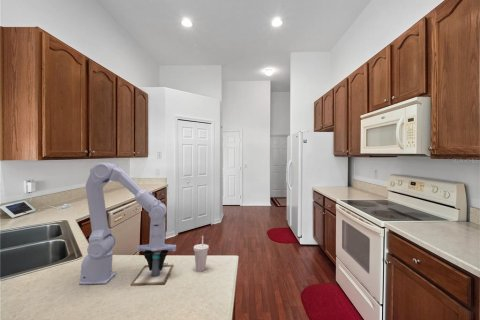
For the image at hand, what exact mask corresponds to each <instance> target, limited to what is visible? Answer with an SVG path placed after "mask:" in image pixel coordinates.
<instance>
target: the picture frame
mask: <svg viewBox="0 0 480 320" xmlns="http://www.w3.org/2000/svg"><path fill="white" fill-rule="evenodd" d="M173 267H174V264H168V262H164V264H163V268H162V270H161V271H160V275H159V276H157V277H152V276H151V274H152V270H151V271H149V266H148V264H145V265H144V266H143V267H142V269H141V270H140V272H139V273H138V274H137V275H136V276H135V278H134V279H133V281H132V282H131V283H130V286H131V287H132V286H133V287H134V286H164V285H166V283H167V282H168V281H167V280H168V279H169V276H170V274H171V272H172V270H173Z"/></svg>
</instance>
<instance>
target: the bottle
mask: <svg viewBox="0 0 480 320" xmlns="http://www.w3.org/2000/svg"><path fill="white" fill-rule="evenodd" d="M159 267H160V252H154V253H153V254H152V274H151V276H152V277H157V276H159V275H160V270H159Z"/></svg>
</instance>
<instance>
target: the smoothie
mask: <svg viewBox="0 0 480 320" xmlns="http://www.w3.org/2000/svg"><path fill="white" fill-rule="evenodd" d="M208 250H210V248H209V244H206V243H204V235H202V236H201V243H200V244H195V245H194V246H193V252H194V262H195V270H196V272H197V273H198V272H200V273H201V272H204V271H206V270H205V269H206V265H207V257H208V252H209V251H208Z"/></svg>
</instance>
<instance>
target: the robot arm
mask: <svg viewBox="0 0 480 320" xmlns="http://www.w3.org/2000/svg"><path fill="white" fill-rule="evenodd" d="M110 181H112V182H117V183H119V184H121V185H122V186H123V187H124V188H126V189H127V190H128V191H129V192H131V194H133V196H134V197H135V199H134V201H135V202H136V203H137V204H138V205H140V207H142V208H143V209H144V210H145V211H146V212H148V217H149V218H150V224H149V243H148V244H139V245H137V246H136V252H138V253H140V252H144V253H143V254H144V255H143V257H144V258H145V260H146V263H147V265H148V266H149V271H151V270H152V254H153V253H155V252H159V253H160V267H159V270H160V271H161V270H162V268H163V264H164V263H165V259H166V257H167V255H168V253H169V252H170V251H171V252H176V250H177V244H168V243H166V242H165V241H166V214H167V211H168V208H167V206H166V204H165V203H164V202H161V200H160V199H159V200H158V199H157V198H156V197H155V195H153V192H152V190H148V189H142V188H141V187H140V186H139V185H138V184H137V183H136V182H135V181H134V179H132V178H131V176H130V175H128V173H127V172H126V171H125V170H124V169H122V168H121V167H120V166H119V165H118V164H117V163H114V162H104V161H103V162H98V163H96V164H94V165H93V166H92V167H91V168H90V169H89V176H88V177H87V180H86V182H85V192H86V198H87V199H86V201H87V205H88V206H87V207H88V212H89V221H90V228H91V233H90V235H89V238H88V245H87V249H86V251H87V255H85V256H84V257H83V260H82V262H81V266H80V281H79V282H78V284H79V285H98V284H99V285H100V284H101V285H102V284H108V283H109V282H110V280H111V279H113V277H115V275H117V272H116V271H115V272H113V253H114V251H113V248H114V246H115V245H116V237H115V236H114V235H113V232H112V229H111V228H109V222H108V215H107V207H106V203H105V202H106V200H105V195H104V189H103V188H104V187H105V186H106V185H107V184H108V183H109V182H110Z"/></svg>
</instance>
